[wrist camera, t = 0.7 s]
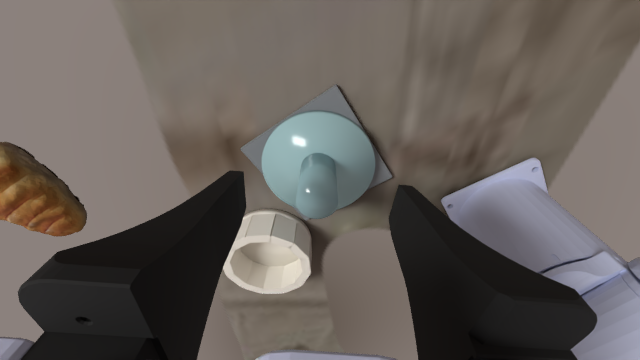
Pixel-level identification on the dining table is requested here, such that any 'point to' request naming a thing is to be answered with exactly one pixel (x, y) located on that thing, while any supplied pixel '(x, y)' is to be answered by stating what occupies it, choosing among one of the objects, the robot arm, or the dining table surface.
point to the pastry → (36, 195)
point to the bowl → (270, 252)
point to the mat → (327, 102)
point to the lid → (318, 162)
